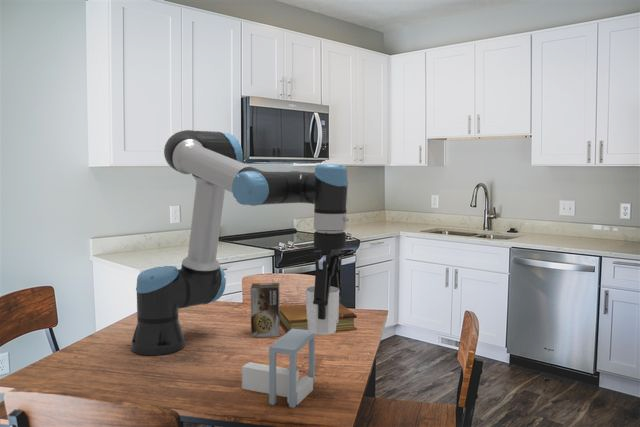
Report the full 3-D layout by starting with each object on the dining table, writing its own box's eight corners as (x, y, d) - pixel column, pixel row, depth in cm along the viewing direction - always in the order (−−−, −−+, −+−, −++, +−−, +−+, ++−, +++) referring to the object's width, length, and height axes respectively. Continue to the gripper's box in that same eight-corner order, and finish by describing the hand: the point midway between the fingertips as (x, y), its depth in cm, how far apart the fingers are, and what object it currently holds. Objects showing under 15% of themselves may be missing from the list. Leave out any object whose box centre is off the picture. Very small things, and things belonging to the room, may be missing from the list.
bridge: (269, 404, 121) (269, 347, 120) (292, 379, 135) (292, 328, 134) (294, 407, 119) (294, 350, 118) (314, 382, 133) (315, 330, 132)
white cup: (309, 337, 122) (309, 294, 121) (302, 326, 129) (302, 286, 128) (342, 334, 124) (343, 292, 123) (333, 324, 131) (334, 284, 130)
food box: (280, 331, 176) (280, 282, 174) (279, 337, 169) (279, 287, 168) (252, 331, 175) (252, 282, 174) (250, 337, 169) (250, 286, 167)
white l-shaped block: (235, 393, 127) (235, 370, 126) (254, 379, 135) (254, 358, 135) (297, 405, 121) (297, 381, 120) (312, 390, 129) (313, 367, 129)
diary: (337, 317, 195) (338, 301, 195) (356, 332, 177) (356, 315, 177) (276, 321, 188) (276, 305, 188) (288, 337, 171) (289, 319, 170)
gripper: (333, 237, 113) (330, 342, 115) (356, 227, 132) (353, 317, 135) (299, 235, 115) (297, 338, 118) (327, 225, 135) (325, 314, 137)
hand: (327, 326), depth 126 cm, fingers closed on white cup, 7 cm apart
